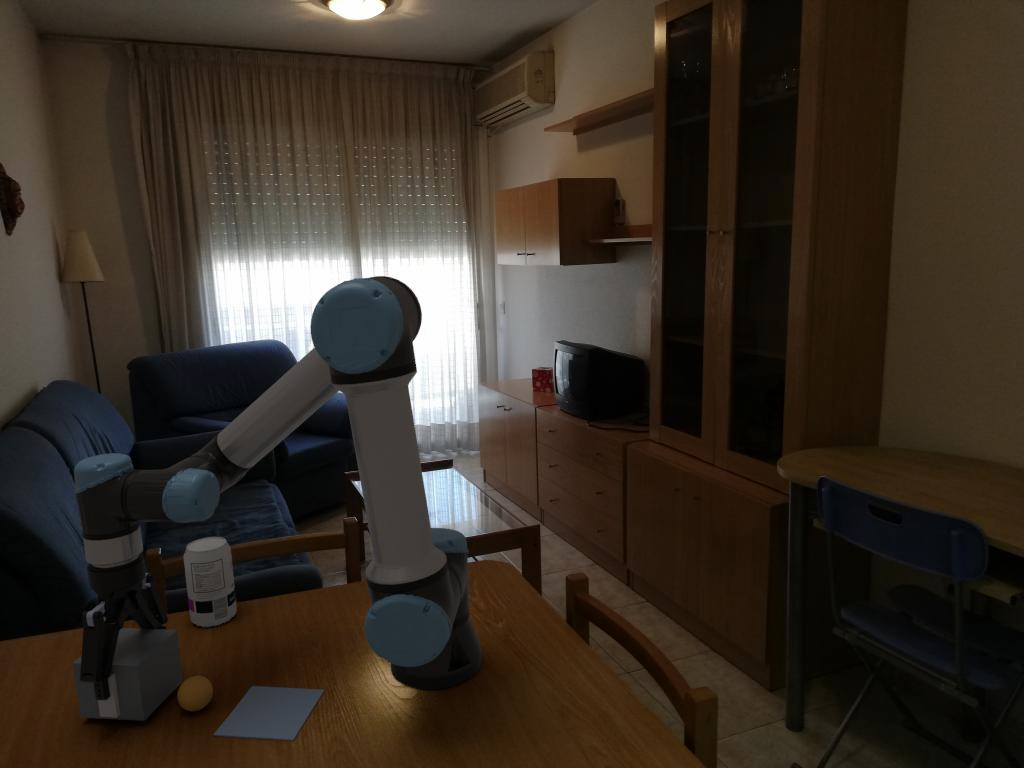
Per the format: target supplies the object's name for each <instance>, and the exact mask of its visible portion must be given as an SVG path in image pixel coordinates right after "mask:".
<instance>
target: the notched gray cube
mask: <svg viewBox="0 0 1024 768" xmlns="http://www.w3.org/2000/svg"><path fill="white" fill-rule="evenodd" d="M180 651H181V649H180V642H179V634H178V630H177V629H167V628H166V629H141V628H137V627H136V628H135V627H134V628H131V627H130V628H129V627H123V628H122V629H120V631H119V635H118V640H117V644H116V649H115V654H114V659H113V663H112V668H111V673H110V674H115V679H116V686H117V693H118V700H119V707H120V715H119V716H118V717H117V718H116V717H100V712H99V705H98V700H97V699H96V697H95V690H94V683H93V682H81V681H80V671H81V657H82V655H81V656H80V657H78V658H77V659H76V660H73V661H74V662H72V671H73V677H74V684H75V689H76V696H77V701H78V708H79V716H80V718H82V719H83V718H84V719H85V718H86V719H103V720H105V719H107V720H122V721H123V720H125V721H126V720H127V721H142V722H143V721H146V720H147V719H148V718H149V717H150V715H152V714H153V713H154V712H155V711H156V709H158V707H159V706H160V705H161V704H162V703H163V702H164V701H165V700H166V699H167V698H168V697H169V696H170V695H171V694H172V693H173V692H174V691H175V690H176V689H177V687H180V686H181V684H182V683H183V682H184V676H183V675H184V674H183V668H182V667H183V666H182V659H181V658H182V657H181V652H180ZM102 670H103V668H102Z"/></svg>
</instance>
